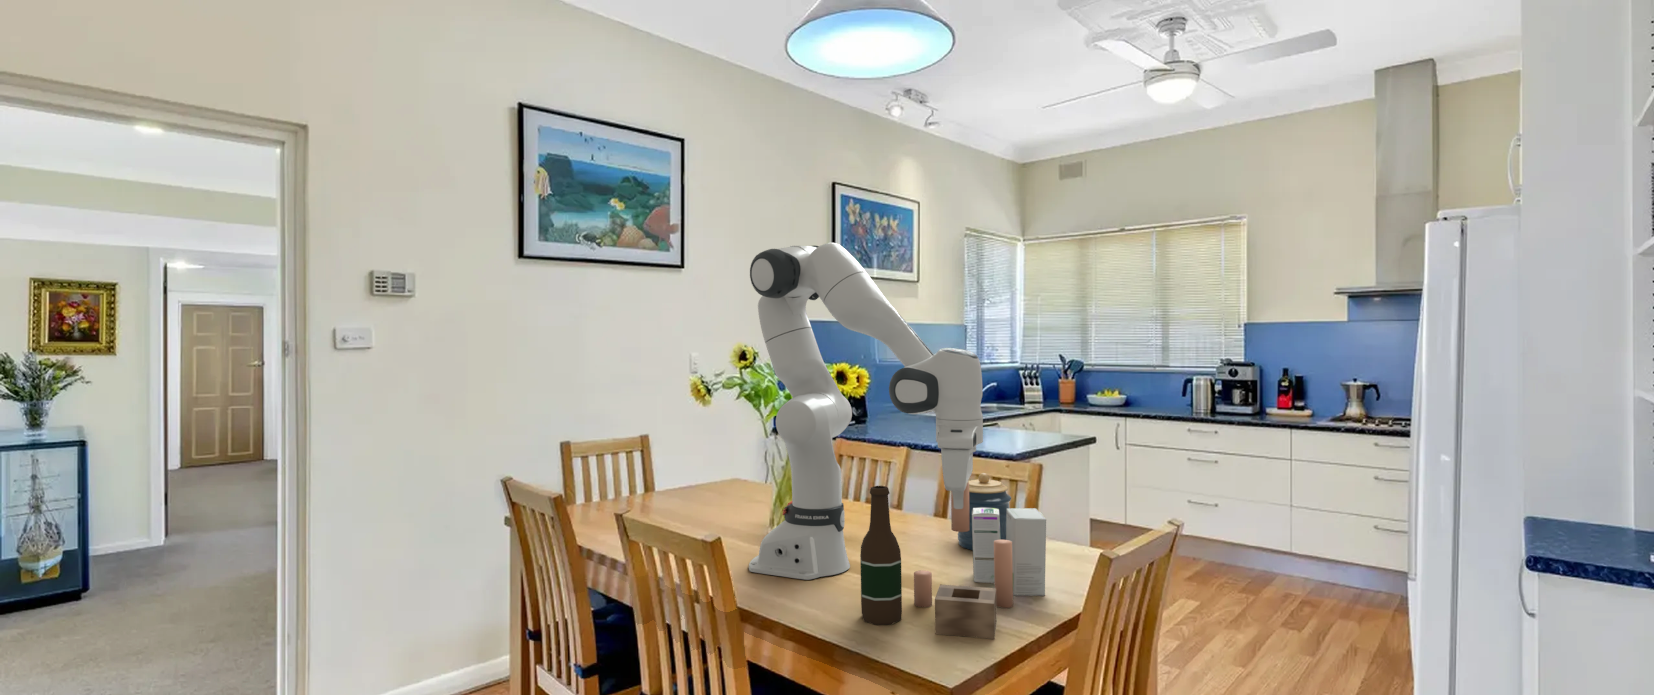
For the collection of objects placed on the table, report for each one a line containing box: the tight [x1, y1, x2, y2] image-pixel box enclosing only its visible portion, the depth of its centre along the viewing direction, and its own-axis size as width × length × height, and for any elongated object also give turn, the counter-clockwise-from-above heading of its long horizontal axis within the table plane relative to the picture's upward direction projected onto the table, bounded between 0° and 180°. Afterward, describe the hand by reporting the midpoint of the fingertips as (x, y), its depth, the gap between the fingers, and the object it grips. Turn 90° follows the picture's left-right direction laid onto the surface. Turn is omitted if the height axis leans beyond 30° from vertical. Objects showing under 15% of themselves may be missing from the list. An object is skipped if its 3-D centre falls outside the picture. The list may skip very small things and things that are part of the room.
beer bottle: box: [859, 485, 903, 626], centre depth 139 cm, size 8×8×24 cm
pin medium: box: [950, 482, 969, 532], centre depth 145 cm, size 3×3×9 cm
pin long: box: [994, 540, 1014, 609], centre depth 145 cm, size 3×3×12 cm
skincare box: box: [1006, 507, 1047, 597], centre depth 153 cm, size 8×7×16 cm
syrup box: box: [972, 508, 1001, 584], centre depth 160 cm, size 6×6×14 cm
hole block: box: [934, 584, 997, 640], centre depth 134 cm, size 10×8×6 cm
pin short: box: [913, 569, 933, 608], centre depth 146 cm, size 3×3×6 cm
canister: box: [957, 472, 1012, 551], centre depth 186 cm, size 13×13×18 cm
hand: (959, 505), depth 145 cm, fingers closed on pin medium, 3 cm apart
